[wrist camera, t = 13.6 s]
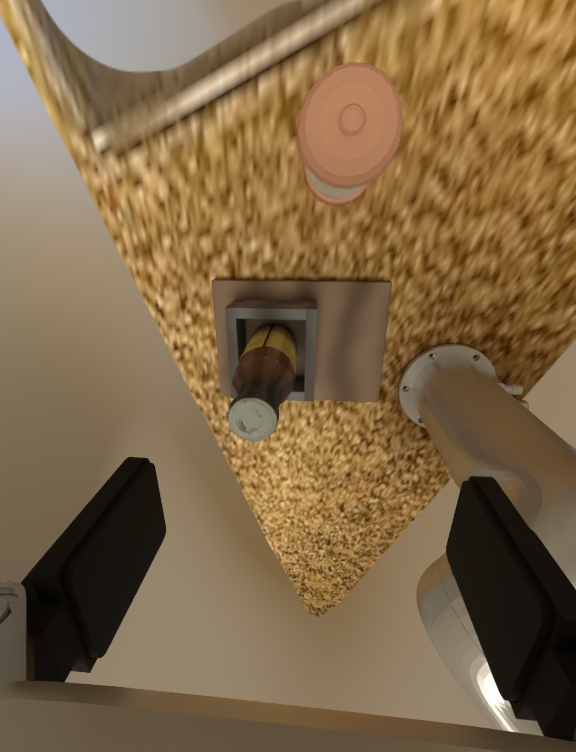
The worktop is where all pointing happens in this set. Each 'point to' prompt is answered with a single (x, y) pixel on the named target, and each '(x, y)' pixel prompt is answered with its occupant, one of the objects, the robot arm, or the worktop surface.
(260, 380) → the sauce bottle
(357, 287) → the bottle caddy
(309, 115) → the pepper shaker
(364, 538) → the worktop surface
